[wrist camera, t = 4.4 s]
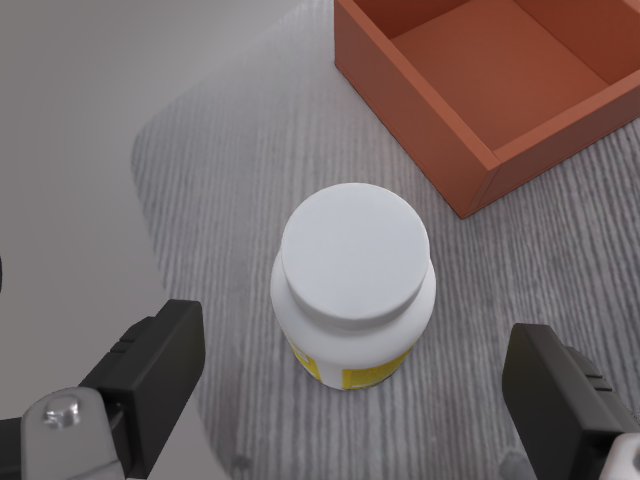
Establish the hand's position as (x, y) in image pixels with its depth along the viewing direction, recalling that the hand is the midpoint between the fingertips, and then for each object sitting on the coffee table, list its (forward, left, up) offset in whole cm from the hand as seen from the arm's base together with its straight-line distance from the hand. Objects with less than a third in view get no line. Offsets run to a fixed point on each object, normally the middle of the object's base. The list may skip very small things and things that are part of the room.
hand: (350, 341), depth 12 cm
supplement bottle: (+1, +2, -9) cm, 9 cm away
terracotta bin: (+15, +10, -9) cm, 20 cm away
